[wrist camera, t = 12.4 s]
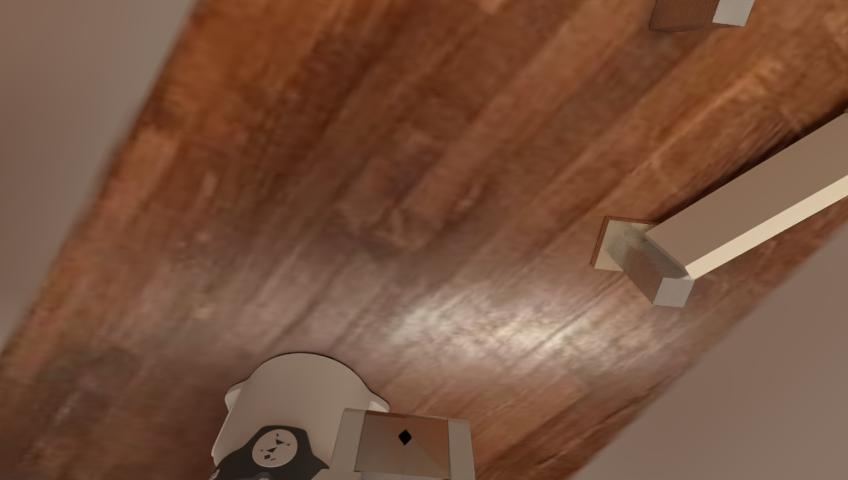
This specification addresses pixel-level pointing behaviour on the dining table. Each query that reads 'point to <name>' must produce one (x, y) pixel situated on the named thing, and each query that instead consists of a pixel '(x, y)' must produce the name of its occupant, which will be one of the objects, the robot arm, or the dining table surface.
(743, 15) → the post
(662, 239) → the gate
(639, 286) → the hinge post
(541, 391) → the dining table surface
